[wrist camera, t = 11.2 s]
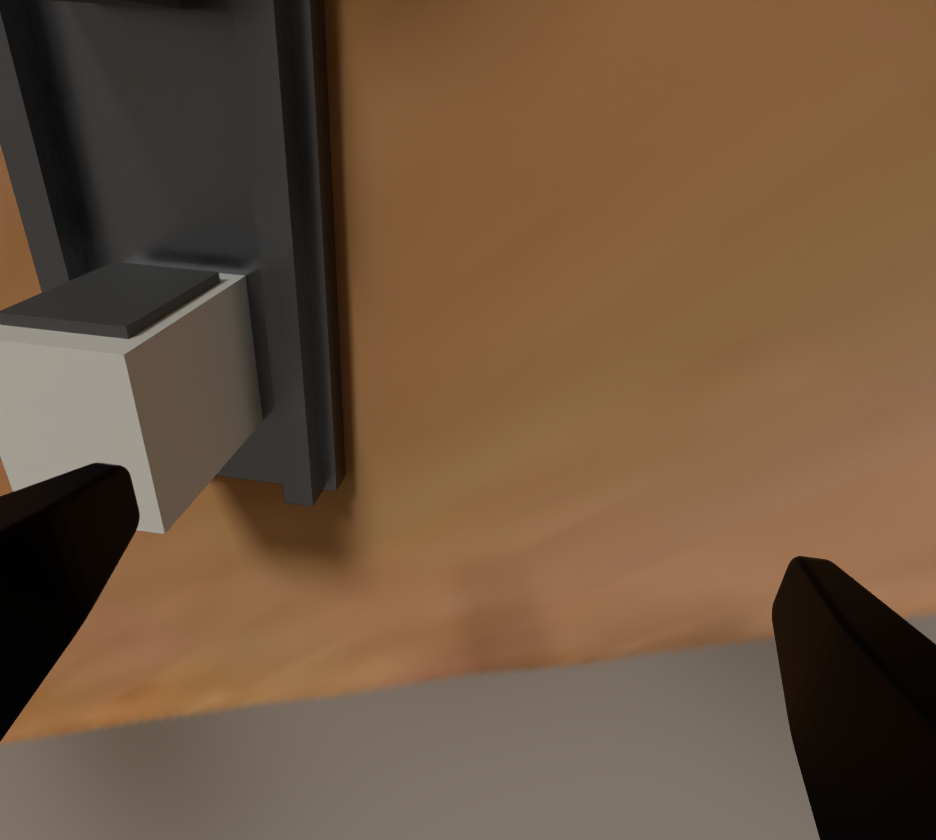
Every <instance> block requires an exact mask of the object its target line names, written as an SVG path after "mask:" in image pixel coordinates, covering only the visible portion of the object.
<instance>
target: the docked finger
mask: <svg viewBox="0 0 936 840" xmlns="http://www.w3.org/2000/svg"><path fill="white" fill-rule="evenodd" d="M52 1H64V2H81V3H97V4H114V5H130V6H147V7H163V8H180V9H181V6H180V0H52Z"/></svg>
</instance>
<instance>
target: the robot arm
mask: <svg viewBox="0 0 936 840" xmlns="http://www.w3.org/2000/svg"><path fill="white" fill-rule="evenodd" d="M139 519H140V513H139V508H138V504H137V500H136V496H135V491H134V487H133V483H132V479H131V476H130V473H129V471H128V470H127V469H126V468H125V467H123V466H121V465H114V464H106V463H92V464H89V465H86V466H83V467H81V468H78V469H75V470H72V471H70V472H67V473H64V474H61V475H58V476H56V477H53V478H50V479H47V480H45V481H42V482H39V483H36V484H33V485H31V486H28V487H25V488H22V489H20V490H17V491H14V492H11V493H9V494H6V495H3V496H0V741H1V740H2V739H3V737H4V736H5V734H6V733H7V731H8V730H9V729H10V727H11V726H12V724H13V723H14V721H15V720H16V719H17V717H18V716H19V714H20V713H21V712H22V710H23V709H24V707H25V706H26V704H27V703H28V702H29V700H30V699H31V697H32V696H33V695H34V693H35V692H36V690H37V689H38V687H39V686H40V685H41V683H42V682H43V680H44V679H45V677H46V676H47V675H48V673H49V672H50V670H51V669H52V668H53V666H54V665H55V663H56V662H57V660H58V659H59V658H60V656H61V655H62V653H63V652H64V651H65V649H66V648H67V646H68V645H69V643H70V642H71V641H72V639H73V638H74V636H75V635H76V633H77V632H78V630H79V629H80V627H81V626H82V624H83V623H84V621H85V620H86V618H87V616H88V614H89V613H90V611H91V610H92V608H93V606H94V605H95V603H96V601H97V599H98V597H99V596H100V594H101V592H102V590H103V589H104V587H105V585H106V583H107V582H108V580H109V578H110V576H111V574H112V573H113V571H114V569H115V567H116V566H117V564H118V562H119V560H120V558H121V557H122V555H123V553H124V551H125V550H126V548H127V546H128V544H129V543H130V541H131V539H132V537H133V535H134V534H135V532H136V530H137V527H138V524H139ZM772 623H773V629H774V635H775V641H776V647H777V653H778V659H779V666H780V672H781V678H782V684H783V690H784V697H785V703H786V709H787V715H788V720H789V726H790V731H791V736H792V740H793V744H794V748H795V751H796V755H797V759H798V762H799V766H800V769H801V773H802V777H803V780H804V784H805V787H806V791H807V794H808V798H809V802H810V805H811V809H812V812H813V816H814V819H815V823H816V827H817V830H818V834H819V837H820V840H936V644H935V643H933V642H932V641H931V640H930V639H928V638H927V637H926V636H924V635H923V634H922V633H921V632H919V631H918V630H917V629H916V628H914V627H913V626H912V625H911V624H909V623H908V622H907V621H906V620H904V619H903V618H902V617H901V616H899V615H898V614H897V613H896V612H894V611H893V610H892V609H891V608H889V607H888V606H887V605H886V604H884V603H883V602H882V601H881V600H879V599H878V598H877V597H876V596H874V595H873V594H872V593H871V592H869V591H868V590H867V589H865V588H864V587H863V586H862V585H860V584H859V583H858V582H857V581H855V580H854V579H853V578H852V577H850V576H849V575H848V574H847V573H845V572H844V571H843V570H842V569H840V568H839V567H838V566H837V565H835V564H834V563H833V562H831V561H829V560H826V559H819V558H811V557H804V556H798V557H795V558H793V559H792V560H791V562H790V563H789V565H788V567H787V570H786V572H785V575H784V577H783V580H782V582H781V585H780V588H779V590H778V593H777V595H776V598H775V600H774V603H773V608H772Z"/></svg>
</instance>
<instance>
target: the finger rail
mask: <svg viewBox="0 0 936 840" xmlns="http://www.w3.org/2000/svg"><path fill="white" fill-rule="evenodd" d="M180 6H181V9H180V8H163V7H147V6H130V5H114V4H97V3H81V2H64V1H52V0H0V144H1V147H2V151H3V155H4V158H5V162H6V165H7V169H8V172H9V176H10V180H11V183H12V187H13V190H14V194H15V197H16V201H17V205H18V208H19V212H20V215H21V219H22V222H23V226H24V229H25V233H26V237H27V240H28V244H29V247H30V251H31V254H32V258H33V262H34V265H35V269H36V272H37V276H38V279H39V283H40V287H41V290H42V293H43V292H45V291H48V290H50V289H52V288H55V287H57V286H59V285H61V284H64V283H66V282H68V281H71V280H73V279H75V278H78V277H80V276H82V275H84V274H87V273H89V272H91V271H94V270H96V269H98V268H101V267H103V266H105V265H107V264H110V263H112V262H123V263H133V264H143V265H153V266H163V267H173V268H183V269H193V270H203V271H213V272H219V273H224V274H234V275H244V276H246V284H247V292H248V301H249V309H250V317H251V326H252V334H253V343H254V351H255V360H256V368H257V376H258V385H259V393H260V402H261V410H262V419H263V421H262V422H261V424H260V425H259V426H258V427H257V428H256V429H255V430H254V432H253V433H252V434H251V435H250V436H249V437H248V439H247V440H246V441H245V442H244V443H243V444H242V445H241V447H240V448H239V449H238V450H237V451H236V452H235V454H234V455H233V456H232V457H231V458H230V459H229V460H228V462H227V463H226V464H225V465H224V466H223V467H222V469H221V470H220V471H219V472H218V473H217V474H216V475H217V476H225V477H232V478H240V479H247V480H255V481H262V482H270V483H277V484H283V491H284V501H285V503H291V504H298V505H305V506H314V504H315V502H316V501H317V499H318V497H319V495H320V494H321V492H322V490H329V491H337V490H338V488H339V486H340V484H341V483H342V481H343V479H344V477H345V458H344V436H343V414H342V393H341V371H340V349H339V327H338V305H337V284H336V262H335V240H334V218H333V196H332V175H331V153H330V131H329V109H328V87H327V66H326V44H325V22H324V0H180Z"/></svg>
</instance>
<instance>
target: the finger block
mask: <svg viewBox="0 0 936 840" xmlns="http://www.w3.org/2000/svg"><path fill="white" fill-rule="evenodd" d="M262 421H263V419H262V410H261V402H260V393H259V385H258V376H257V368H256V360H255V351H254V343H253V334H252V326H251V317H250V309H249V301H248V292H247V284H246V276H244V275H234V274H224V273H219V272H213V271H203V270H193V269H183V268H173V267H163V266H153V265H143V264H133V263H123V262H112V263H110V264H107V265H105V266H103V267H101V268H98V269H96V270H94V271H91V272H89V273H87V274H84V275H82V276H80V277H78V278H75V279H73V280H71V281H68V282H66V283H64V284H61V285H59V286H57V287H55V288H52V289H50V290H48V291H45V292H43V293H41V294H38V295H36V296H34V297H31V298H29V299H27V300H25V301H22V302H20V303H18V304H15V305H13V306H11V307H8V308H6V309H4V310H2V311H0V457H1V460H2V462H3V465H4V468H5V471H6V473H7V476H8V479H9V482H10V484H11V487H12V490H13V492H14V491H17V490H20V489H22V488H25V487H28V486H31V485H33V484H36V483H39V482H42V481H45V480H47V479H50V478H53V477H56V476H58V475H61V474H64V473H67V472H70V471H72V470H75V469H78V468H81V467H83V466H86V465H89V464H92V463H106V464H114V465H121V466H123V467H125V468H126V469H127V470H128V471H129V473H130V476H131V479H132V483H133V487H134V491H135V496H136V500H137V504H138V508H139V513H140V519H139V524H138V527H137V530H140V531H147V532H154V533H161V534H165V533H166V532H167V531H168V530H169V529H170V527H171V526H172V525H173V524H174V523H175V522H176V520H177V519H178V518H179V517H180V516H181V515H182V514H183V512H184V511H185V510H186V509H187V508H188V507H189V505H190V504H191V503H192V502H193V501H194V500H195V499H196V497H197V496H198V495H199V494H200V493H201V492H202V490H203V489H204V488H205V487H206V486H207V485H208V484H209V482H210V481H211V480H212V479H213V478H214V477H215V475H216V474H217V473H218V472H219V471H220V470H221V469H222V467H223V466H224V465H225V464H226V463H227V462H228V460H229V459H230V458H231V457H232V456H233V455H234V454H235V452H236V451H237V450H238V449H239V448H240V447H241V445H242V444H243V443H244V442H245V441H246V440H247V439H248V437H249V436H250V435H251V434H252V433H253V432H254V430H255V429H256V428H257V427H258V426H259V425H260V424H261V422H262Z"/></svg>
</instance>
